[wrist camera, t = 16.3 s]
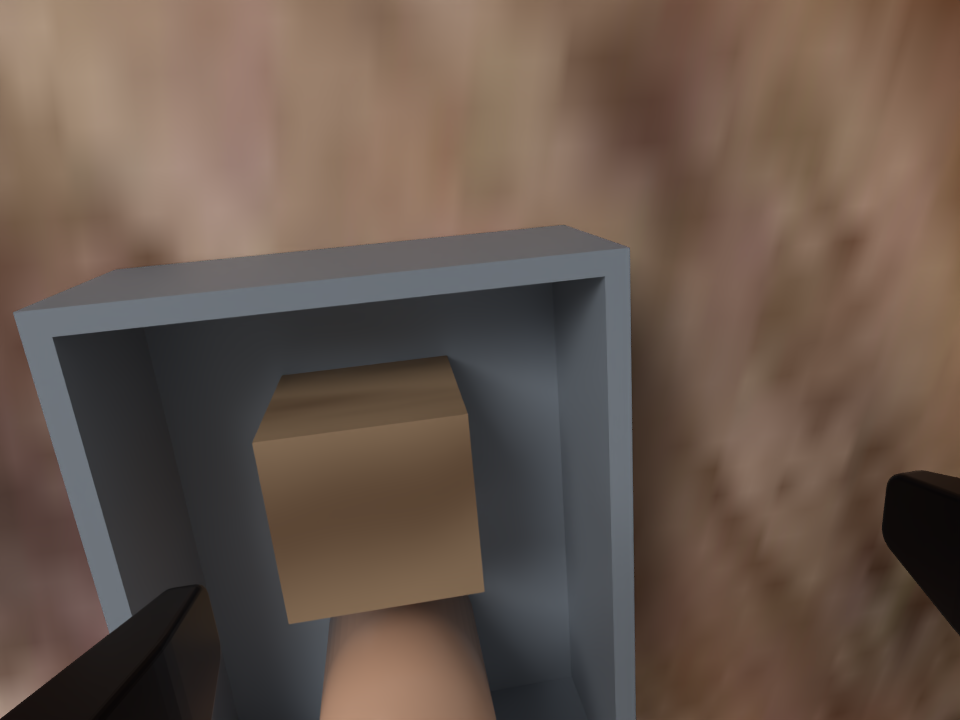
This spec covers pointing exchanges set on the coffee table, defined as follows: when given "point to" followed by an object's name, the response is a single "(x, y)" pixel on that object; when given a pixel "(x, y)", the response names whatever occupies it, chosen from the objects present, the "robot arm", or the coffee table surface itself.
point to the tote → (340, 344)
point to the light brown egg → (406, 664)
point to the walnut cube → (369, 488)
